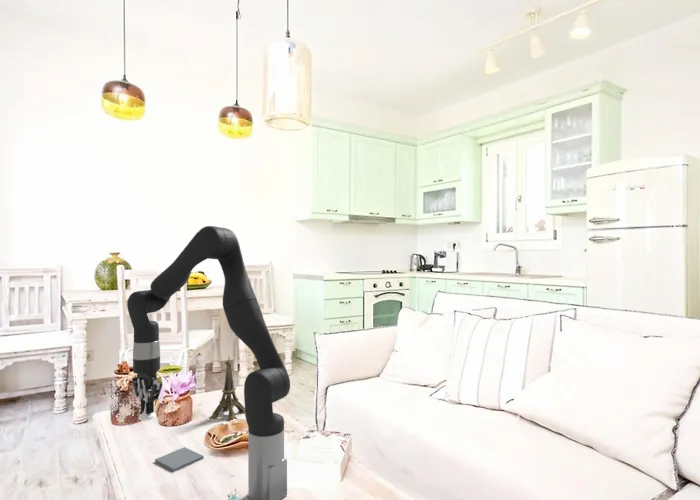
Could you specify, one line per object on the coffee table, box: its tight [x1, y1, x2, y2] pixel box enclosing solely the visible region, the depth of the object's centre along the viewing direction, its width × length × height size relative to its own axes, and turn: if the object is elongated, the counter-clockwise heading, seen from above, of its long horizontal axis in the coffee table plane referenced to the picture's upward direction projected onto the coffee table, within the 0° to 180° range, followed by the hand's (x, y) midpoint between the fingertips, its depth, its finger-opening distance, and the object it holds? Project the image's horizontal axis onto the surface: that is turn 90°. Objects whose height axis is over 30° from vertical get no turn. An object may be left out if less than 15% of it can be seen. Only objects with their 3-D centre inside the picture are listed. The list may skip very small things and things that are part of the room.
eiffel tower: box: [208, 357, 245, 422], centre depth 170 cm, size 11×11×25 cm
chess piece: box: [138, 390, 157, 421], centre depth 134 cm, size 5×5×10 cm
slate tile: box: [154, 446, 205, 473], centre depth 134 cm, size 10×10×1 cm
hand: (147, 412), depth 134 cm, fingers closed on chess piece, 2 cm apart
